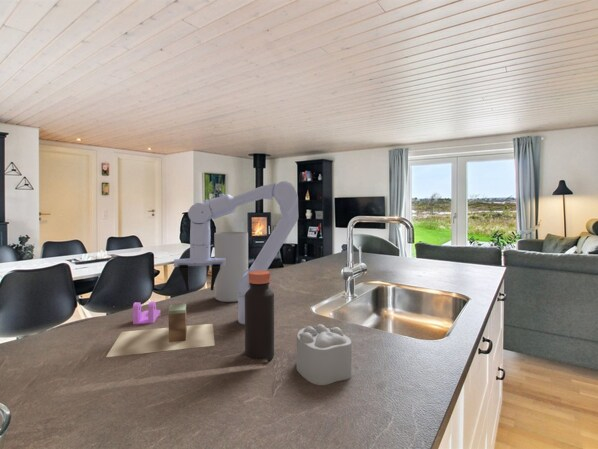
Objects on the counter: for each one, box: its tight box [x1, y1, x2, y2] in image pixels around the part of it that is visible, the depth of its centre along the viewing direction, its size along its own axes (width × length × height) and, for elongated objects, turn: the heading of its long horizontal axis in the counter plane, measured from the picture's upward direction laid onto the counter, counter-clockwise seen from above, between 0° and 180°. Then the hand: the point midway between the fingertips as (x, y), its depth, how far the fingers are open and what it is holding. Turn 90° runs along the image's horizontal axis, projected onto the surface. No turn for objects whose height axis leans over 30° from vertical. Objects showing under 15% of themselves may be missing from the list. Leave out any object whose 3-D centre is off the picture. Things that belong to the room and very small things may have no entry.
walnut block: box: [168, 302, 188, 342], centre depth 88 cm, size 4×6×8 cm, turn 16°
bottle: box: [244, 270, 275, 362], centre depth 79 cm, size 7×7×20 cm
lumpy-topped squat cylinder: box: [296, 323, 353, 386], centre depth 74 cm, size 10×13×9 cm
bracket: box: [132, 301, 161, 325], centre depth 105 cm, size 13×6×7 cm, turn 12°
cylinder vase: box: [213, 231, 249, 303], centre depth 129 cm, size 12×12×25 cm
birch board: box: [105, 323, 216, 358], centre depth 88 cm, size 24×16×1 cm, turn 106°
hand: (199, 290), depth 100 cm, fingers open, 6 cm apart
